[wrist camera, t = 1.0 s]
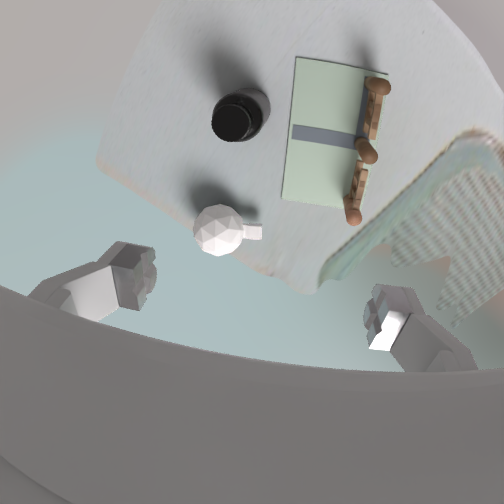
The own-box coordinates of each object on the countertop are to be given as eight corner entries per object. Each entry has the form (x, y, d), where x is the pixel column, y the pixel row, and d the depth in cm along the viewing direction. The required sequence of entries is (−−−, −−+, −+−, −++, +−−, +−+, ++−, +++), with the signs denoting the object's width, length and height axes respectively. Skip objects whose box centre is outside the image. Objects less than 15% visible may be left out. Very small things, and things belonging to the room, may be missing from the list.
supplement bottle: (223, 92, 40) (197, 102, 31) (266, 84, 39) (253, 90, 29) (232, 132, 44) (210, 153, 35) (274, 125, 42) (264, 145, 33)
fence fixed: (366, 151, 42) (375, 166, 36) (352, 148, 42) (359, 162, 37) (379, 78, 34) (392, 80, 29) (364, 74, 35) (374, 76, 29)
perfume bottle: (198, 244, 57) (260, 247, 56) (187, 261, 48) (260, 265, 48) (198, 200, 54) (263, 202, 53) (186, 209, 45) (262, 212, 45)
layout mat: (296, 57, 35) (296, 57, 35) (388, 75, 34) (389, 75, 34) (281, 198, 50) (281, 199, 49) (360, 211, 48) (360, 212, 48)
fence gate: (351, 157, 42) (357, 170, 37) (366, 160, 42) (373, 173, 37) (341, 205, 48) (345, 224, 43) (354, 208, 47) (359, 226, 42)
